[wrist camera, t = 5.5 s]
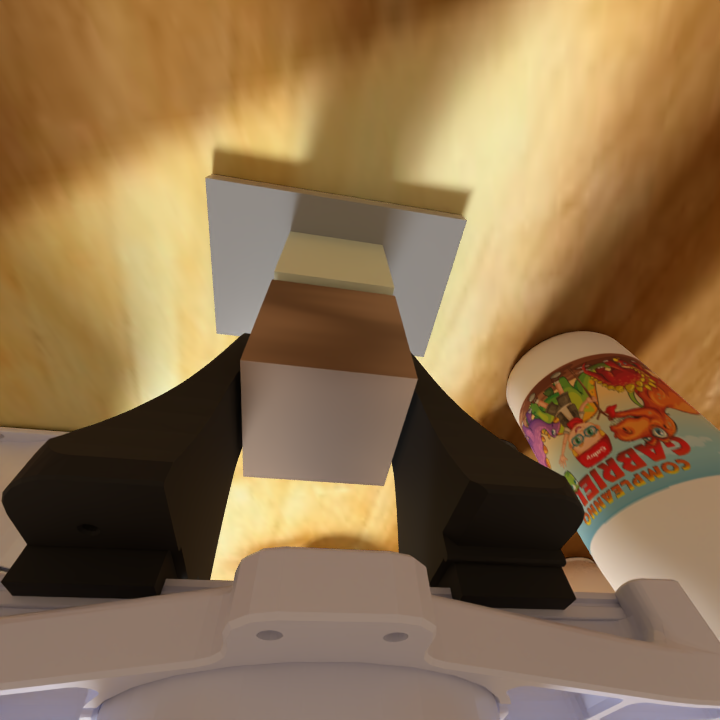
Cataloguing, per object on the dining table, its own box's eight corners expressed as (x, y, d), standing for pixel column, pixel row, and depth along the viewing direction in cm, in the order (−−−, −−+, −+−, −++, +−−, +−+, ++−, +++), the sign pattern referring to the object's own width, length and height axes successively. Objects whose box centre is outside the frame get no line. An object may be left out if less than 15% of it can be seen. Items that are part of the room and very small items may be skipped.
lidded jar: (498, 584, 43) (533, 691, 35) (562, 537, 37) (619, 652, 29) (570, 597, 45) (616, 698, 38) (638, 555, 40) (709, 664, 32)
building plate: (221, 324, 21) (216, 333, 21) (211, 173, 17) (205, 177, 16) (420, 347, 23) (423, 356, 22) (461, 214, 18) (466, 220, 18)
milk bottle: (648, 345, 23) (1343, 905, 7) (571, 427, 28) (901, 900, 11) (547, 311, 22) (1158, 946, 5) (481, 404, 26) (718, 923, 10)
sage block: (285, 314, 20) (271, 369, 16) (290, 231, 17) (274, 271, 13) (367, 324, 21) (373, 379, 17) (382, 244, 18) (394, 287, 14)
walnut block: (269, 378, 16) (243, 476, 12) (271, 279, 13) (240, 360, 9) (373, 388, 16) (383, 485, 12) (395, 295, 14) (418, 378, 10)
